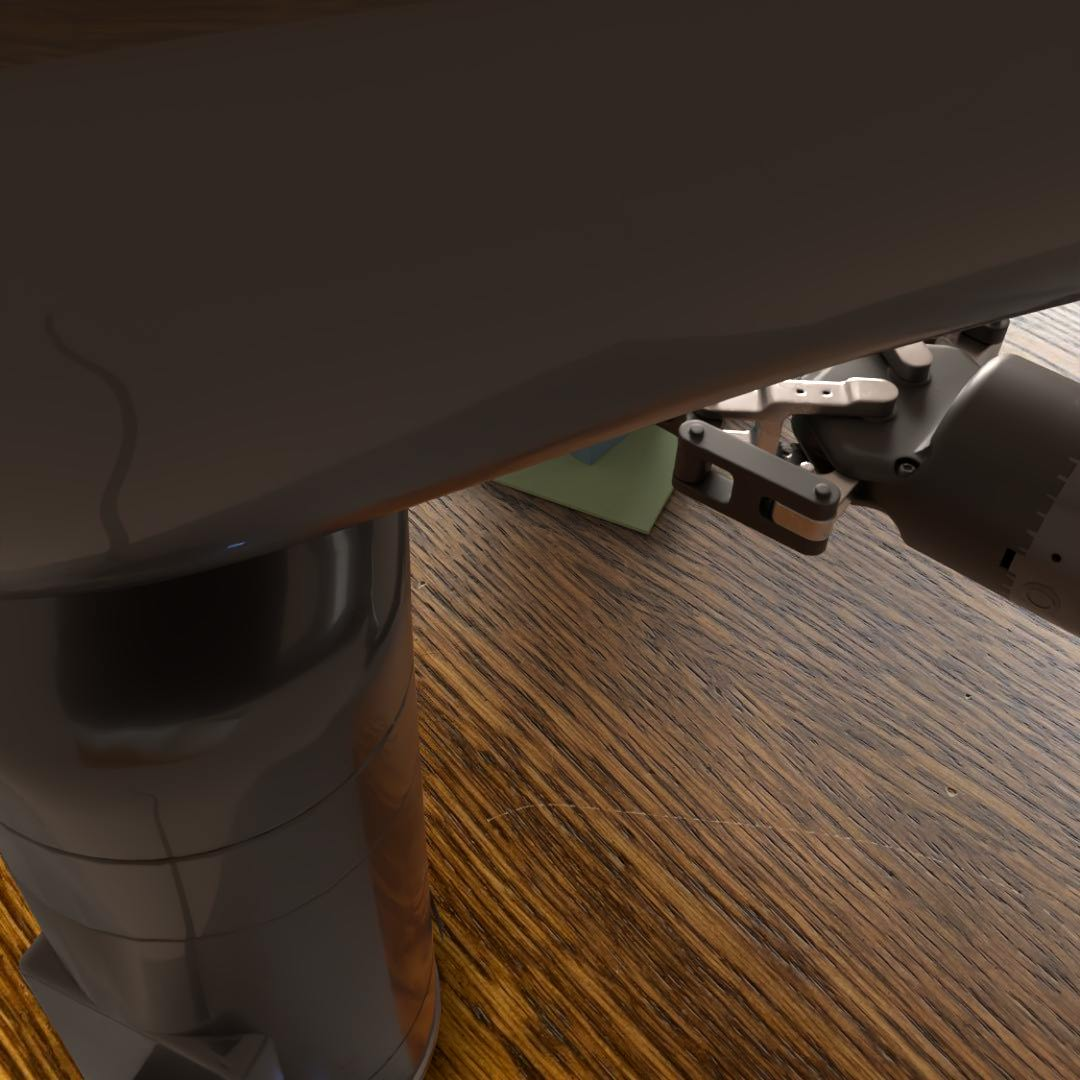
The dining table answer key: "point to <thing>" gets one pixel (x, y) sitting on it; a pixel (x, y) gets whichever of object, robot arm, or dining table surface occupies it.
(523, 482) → the mat
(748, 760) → the dining table surface
